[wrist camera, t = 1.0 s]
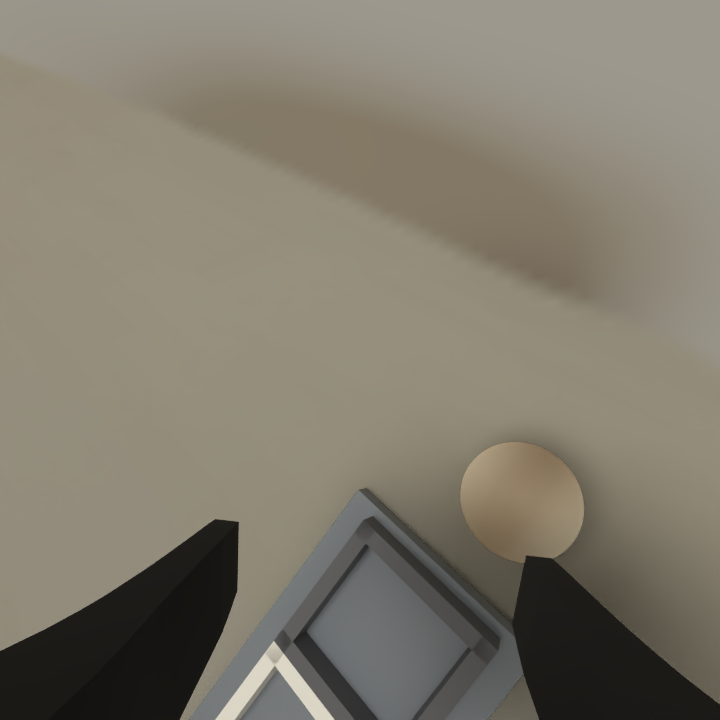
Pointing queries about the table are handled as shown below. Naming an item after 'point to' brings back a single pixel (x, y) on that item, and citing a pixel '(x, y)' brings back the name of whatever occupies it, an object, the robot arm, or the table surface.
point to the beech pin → (522, 501)
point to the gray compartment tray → (371, 636)
